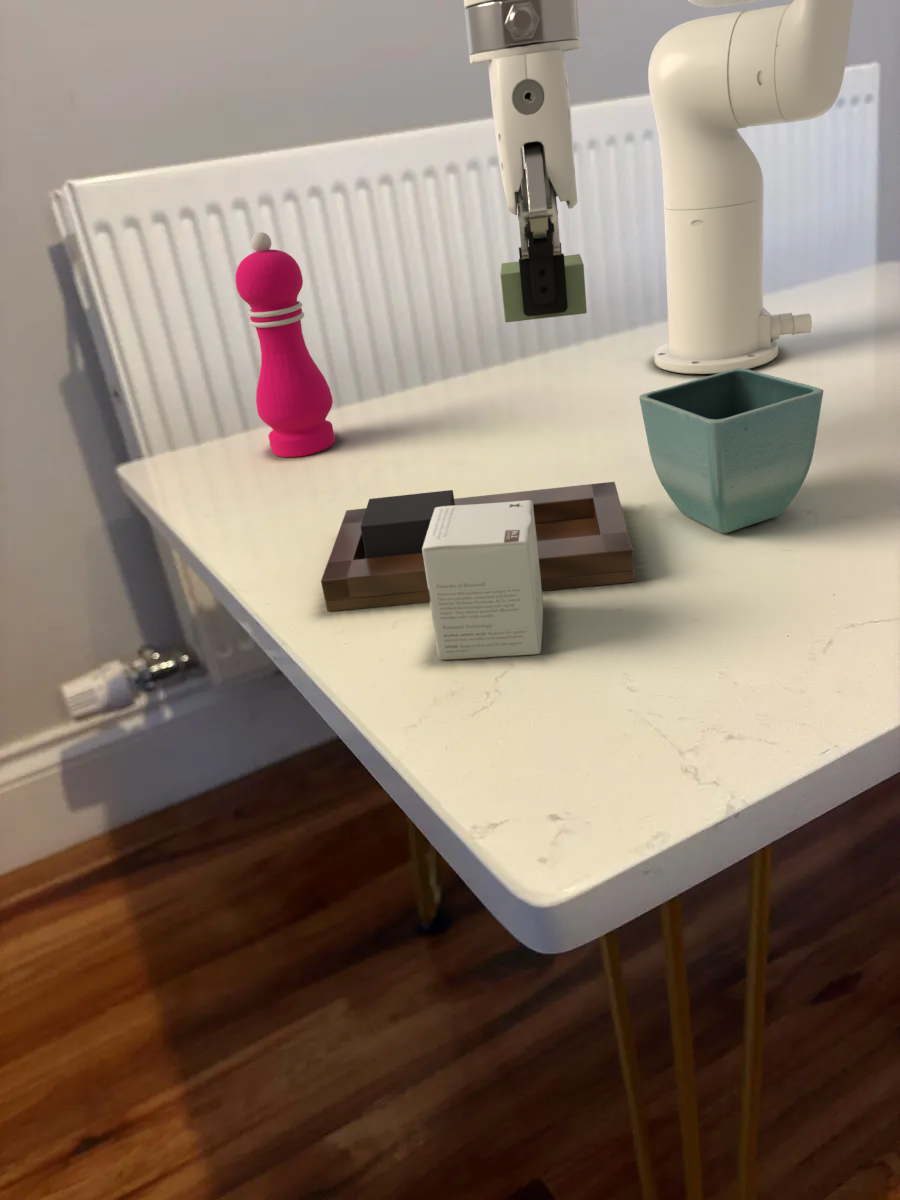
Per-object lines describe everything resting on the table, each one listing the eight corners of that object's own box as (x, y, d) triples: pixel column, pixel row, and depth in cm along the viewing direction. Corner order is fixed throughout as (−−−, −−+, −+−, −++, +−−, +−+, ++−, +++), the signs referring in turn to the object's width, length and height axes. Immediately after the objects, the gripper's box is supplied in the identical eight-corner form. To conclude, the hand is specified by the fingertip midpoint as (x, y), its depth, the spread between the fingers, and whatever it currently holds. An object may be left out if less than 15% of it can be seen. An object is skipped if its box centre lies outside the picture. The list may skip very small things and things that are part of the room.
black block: (459, 534, 74) (452, 489, 72) (456, 564, 69) (449, 517, 68) (377, 543, 74) (368, 498, 73) (369, 573, 70) (360, 526, 68)
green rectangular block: (583, 300, 79) (579, 253, 78) (586, 313, 75) (583, 264, 74) (505, 309, 80) (501, 263, 79) (505, 322, 76) (500, 273, 74)
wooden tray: (616, 510, 76) (614, 481, 75) (634, 582, 65) (633, 549, 64) (351, 537, 78) (346, 509, 77) (327, 612, 67) (320, 580, 66)
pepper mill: (327, 457, 96) (283, 234, 87) (255, 461, 98) (205, 243, 89) (349, 432, 102) (310, 221, 93) (281, 436, 104) (237, 230, 95)
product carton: (448, 612, 65) (432, 505, 61) (544, 606, 64) (533, 496, 61) (437, 662, 59) (419, 547, 56) (542, 656, 59) (530, 538, 55)
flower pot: (641, 513, 75) (635, 393, 71) (741, 483, 77) (741, 365, 73) (715, 553, 67) (712, 422, 63) (823, 518, 70) (827, 389, 66)
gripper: (585, 17, 61) (603, 323, 69) (572, 31, 77) (588, 281, 85) (461, 35, 62) (493, 336, 70) (472, 45, 77) (497, 291, 85)
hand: (544, 303), depth 77 cm, fingers closed on green rectangular block, 5 cm apart
